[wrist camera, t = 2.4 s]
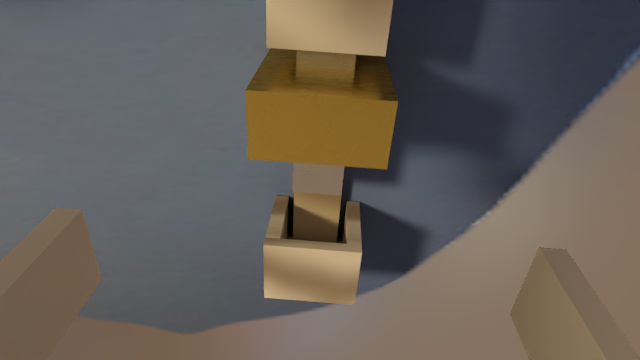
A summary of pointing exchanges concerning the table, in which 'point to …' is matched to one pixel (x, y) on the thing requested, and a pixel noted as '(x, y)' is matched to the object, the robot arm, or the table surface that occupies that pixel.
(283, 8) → the sleeve and socket
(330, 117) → the golden wooden block
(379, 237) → the table surface
